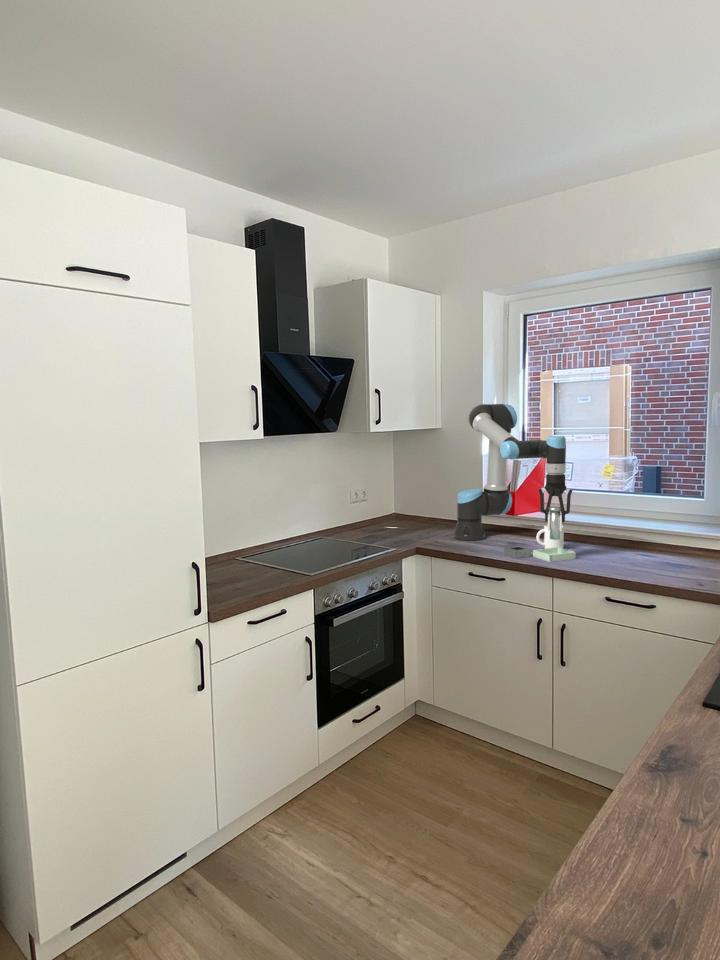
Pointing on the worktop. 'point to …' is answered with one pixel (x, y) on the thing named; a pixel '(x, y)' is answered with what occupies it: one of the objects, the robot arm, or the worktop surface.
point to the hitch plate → (517, 551)
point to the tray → (554, 554)
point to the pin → (554, 522)
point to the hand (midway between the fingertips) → (554, 529)
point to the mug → (549, 542)
